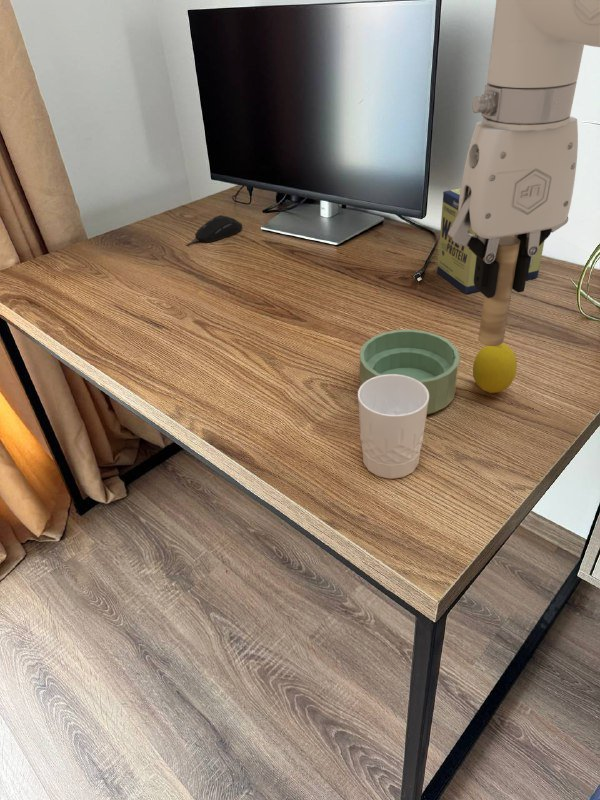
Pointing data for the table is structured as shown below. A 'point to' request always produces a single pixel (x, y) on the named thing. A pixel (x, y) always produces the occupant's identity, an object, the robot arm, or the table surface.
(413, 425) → the white cup
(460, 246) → the protein box
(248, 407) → the table surface
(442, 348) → the bowl
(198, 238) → the gaming mouse
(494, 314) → the stick
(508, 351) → the lemon
